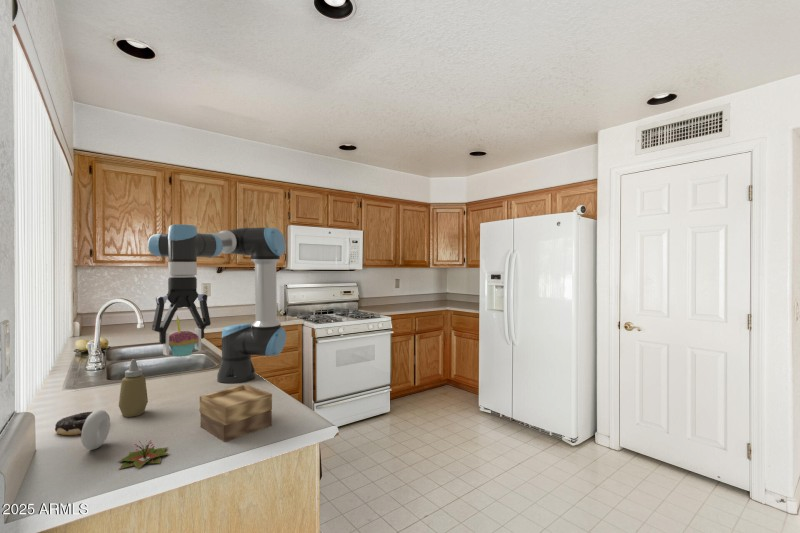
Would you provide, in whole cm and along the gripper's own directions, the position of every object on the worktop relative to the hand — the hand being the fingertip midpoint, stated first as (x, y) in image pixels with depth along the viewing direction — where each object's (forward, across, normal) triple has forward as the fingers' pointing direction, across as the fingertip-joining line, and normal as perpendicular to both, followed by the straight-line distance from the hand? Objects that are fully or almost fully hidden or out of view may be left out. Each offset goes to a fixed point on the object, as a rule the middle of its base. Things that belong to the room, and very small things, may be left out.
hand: (182, 352), depth 119 cm
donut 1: (+24, +20, -22) cm, 38 cm away
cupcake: (+1, 0, 0) cm, 1 cm away
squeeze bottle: (+23, +6, -24) cm, 34 cm away
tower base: (+24, -12, +10) cm, 28 cm away
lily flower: (+24, +13, +12) cm, 30 cm away
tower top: (+19, -12, +10) cm, 24 cm away
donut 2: (+23, +20, -4) cm, 31 cm away
